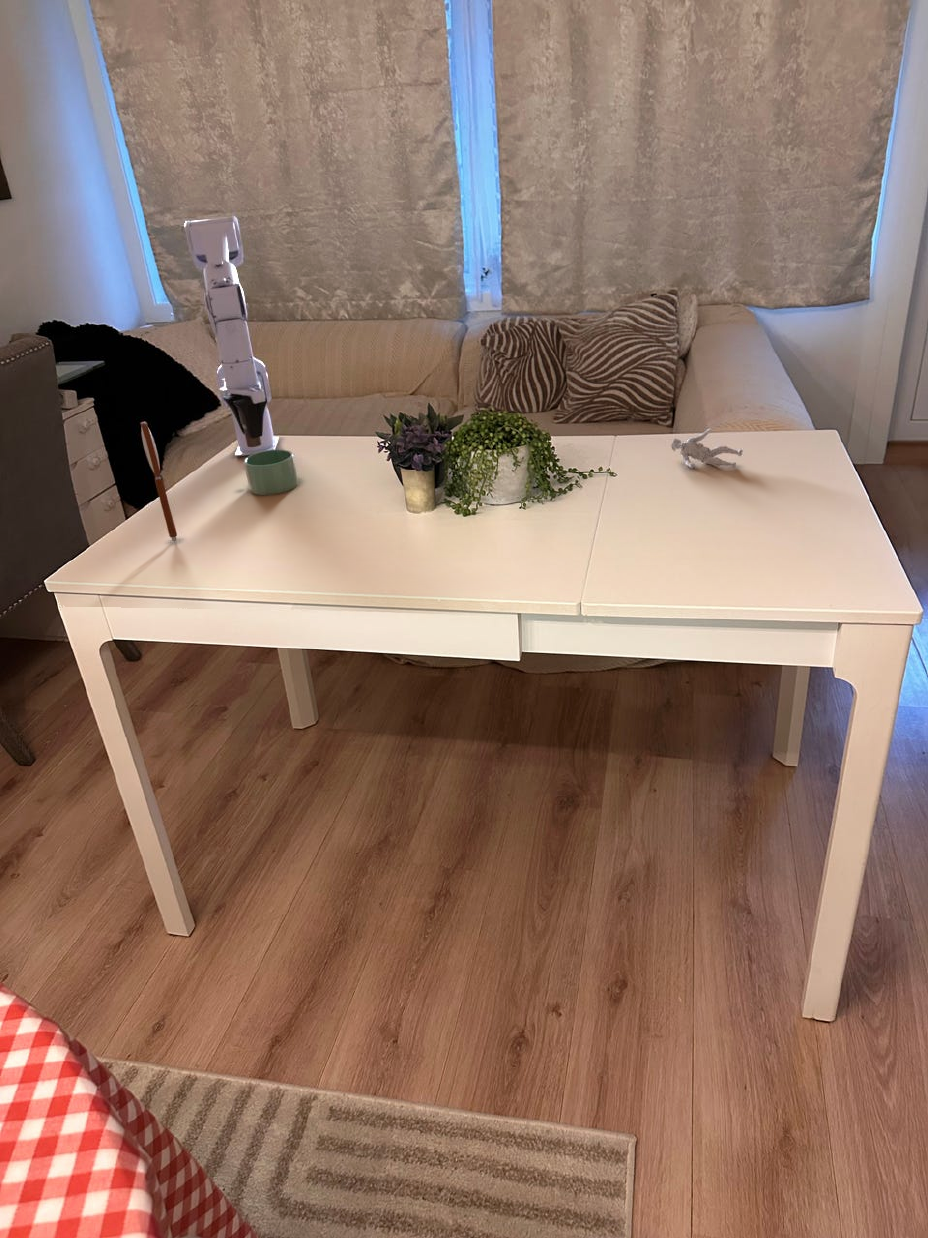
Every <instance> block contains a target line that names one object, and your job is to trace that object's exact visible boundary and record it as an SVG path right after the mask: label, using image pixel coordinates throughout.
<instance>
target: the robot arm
mask: <svg viewBox="0 0 928 1238" xmlns="http://www.w3.org/2000/svg"><path fill="white" fill-rule="evenodd" d="M183 226H184V233H185V237H186V243H187V247H188V250H189V254H190V255H191V258H192V262H193V264H194V265H195V267H196V269H198V270H201V271H203V281H204V287H205V292H204V293H203V299H204V304H205V309H206V314H207V317H208V320H209V324H210V325H211V329H212V333H213V336H215V342H216V347H217V348H216V349H217V352H218V356H219V361H220V366H219V367H218V368H217V371H216V376H217V383H218V390H219V394H220V398H221V403H222V406H223V407H224V408H225V409H229V411H230V413H231V417H232V421H233V426H234V430H235V431H234V432H235V436H236V440H237V445H238V446H237V449H236V451H235V452H234V455H235V457H245V456H250V455H252V454H255V453H258V452H262V451H267V450H277V449H276V448H277V445H278V442H279V439H280V436H274V431H273V426H272V420H271V415H270V410H269V409H268V403H271V401H272V398H273V397H272V392H271V385H270V381H269V377H268V376H269V375H268V373H267V369H266V365H265V364H264V362H263V361H261V360H260V359H257V358H256V357H255V356H254V353H253V348H252V343H251V342H252V341H251V338H250V332H249V327H248V323H247V321H248V310H247V304H246V299H245V294H244V290H243V288H242V286H241V283H240V281H239V277H238V272H237V267H239V266H240V265H242V264H243V263H244V257H245V255H244V250H243V248H244V245H243V242H242V241H243V240H242V236H241V230H240V225H239V221H238V217H236V216H235V215H231V216H226V217H225V216H223V217H216V218H207V219H199V220H191V221H190V220H186V221H185V223H184V225H183ZM243 316H244V317H245V318H244V317H243ZM238 410H239V412H240V413H241V415H242V417H243V420H244V422H245V425H246V428H247V431H248V434H249V436H250V438H252V439H253V438H257V437H260V438H261V443H262V444H261V445H260V446H257V447H248V446H247V442H246V437H245V433H244V428H243V426H242V424H241V422H240V417H239V412H238Z"/></svg>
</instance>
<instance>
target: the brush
mask: <svg viewBox="0 0 928 1238" xmlns="http://www.w3.org/2000/svg"><path fill="white" fill-rule="evenodd" d="M238 412H239V410H238ZM239 417H240V422H241V424H242V426H243V428H244V433H245V437H246V442H247V446H248V447H257V446H260V445H261V444H262V443H261V438H260V437H257V438H253V439H252V438H250V436H249V434H248V431H247V428H246V425H245V422H244V420H243V417H242V415H241V413H240V412H239Z"/></svg>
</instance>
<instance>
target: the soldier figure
mask: <svg viewBox="0 0 928 1238" xmlns="http://www.w3.org/2000/svg"><path fill="white" fill-rule="evenodd" d="M713 430H714V429H713V428H708V429H706V430H705V431H704V432H703V433H701V434H699V435H698V436H695V437H691V438H688V439H687V440H686V441H685V442H682V440H680V439H678V438H673V440H672V442H671V445H670V446H671V450H672V451H673V452H674V453H675V451H676V450H679V449H681V450H680V455H681V457H682V459H683V461H684V463H685V465H686V466H687V467H688V468H691V469H694V467H695V463H693V462H692V461H691V459H690V457H691V458H692V459H693V460H697V461H700V462H701V463H703V464H707V465H714V466H718V467H721V466H723V467H731V468H734V469H735V468H736V467H737V462H729V461H726V460H723V459H721V458H719V457H717V456H718V455H722V454H730V455H737V456H738V457H742V455H743V452H744V450H743V449H740V450H737V449H733V448H731V447H729V446H727V445H719V446H716V447H715V446H714V447H712V448H711V449H710V447H707V446H704V444H703V443H700V442H701V441H703V440H704V439H705V438H706V436H708V434H710V431H713Z"/></svg>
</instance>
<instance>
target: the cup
mask: <svg viewBox="0 0 928 1238" xmlns="http://www.w3.org/2000/svg"><path fill="white" fill-rule="evenodd" d="M295 462H296V461H295V456H294V453H293V452H292V451H290V450H287V449H275V450H267V451H262V452H258V453H255V454H252V455H247V457H246V458H244V460H243V465H244V470H245V475H246V479H247V483H248V488H249V491H250V492H251V493H253V494H255V495H258V496H259V495H260V496H270V495H277V494H278V495H279V494H282V493H285V492H289V491H290V490H292V489H295V488H296V487H297V486H298V484H299V480H298V473H297V472H298V471H297V467H296V463H295Z"/></svg>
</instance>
